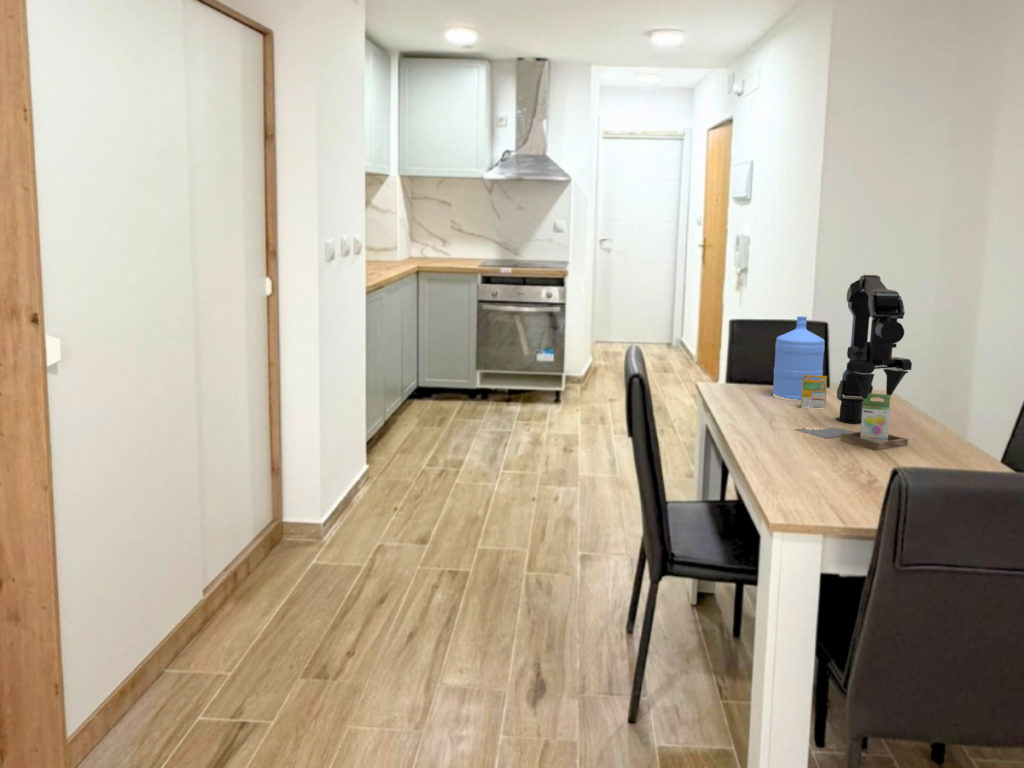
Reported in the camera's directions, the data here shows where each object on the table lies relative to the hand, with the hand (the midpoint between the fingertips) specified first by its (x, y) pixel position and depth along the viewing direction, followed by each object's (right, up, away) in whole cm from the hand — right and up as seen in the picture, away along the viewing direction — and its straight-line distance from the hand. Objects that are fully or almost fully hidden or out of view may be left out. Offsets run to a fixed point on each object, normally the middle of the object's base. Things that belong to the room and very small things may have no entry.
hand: (876, 397), depth 254 cm
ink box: (0, -13, +2) cm, 13 cm away
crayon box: (-2, -5, +47) cm, 47 cm away
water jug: (-2, -2, +65) cm, 65 cm away
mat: (-9, -10, +15) cm, 20 cm away
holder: (0, -13, +2) cm, 13 cm away
